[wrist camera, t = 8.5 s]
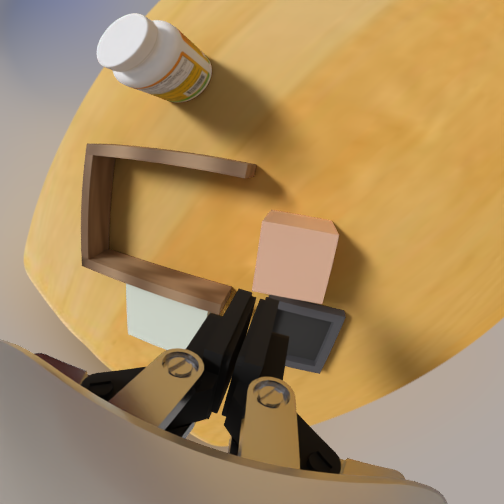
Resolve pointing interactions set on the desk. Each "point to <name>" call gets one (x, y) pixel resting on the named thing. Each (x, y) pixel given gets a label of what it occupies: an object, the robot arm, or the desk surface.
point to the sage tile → (161, 319)
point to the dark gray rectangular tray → (307, 331)
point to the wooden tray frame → (131, 268)
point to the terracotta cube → (295, 256)
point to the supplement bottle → (154, 58)
